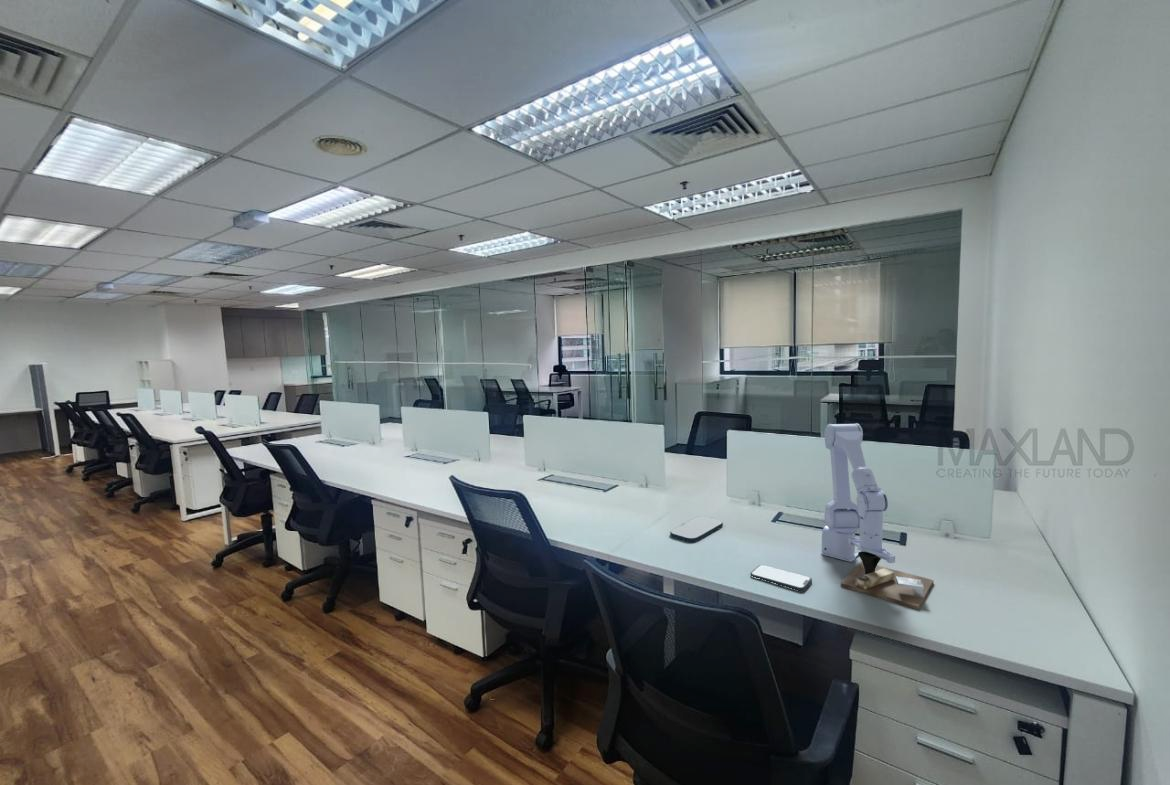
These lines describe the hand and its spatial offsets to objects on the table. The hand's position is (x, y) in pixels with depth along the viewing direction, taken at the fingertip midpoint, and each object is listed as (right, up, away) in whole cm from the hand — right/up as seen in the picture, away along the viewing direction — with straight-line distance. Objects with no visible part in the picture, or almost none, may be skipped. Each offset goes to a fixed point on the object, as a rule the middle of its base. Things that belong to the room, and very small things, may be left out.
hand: (869, 576), depth 143 cm
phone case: (-25, -3, +4) cm, 25 cm away
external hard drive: (-41, 0, +44) cm, 60 cm away
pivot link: (0, -1, -2) cm, 2 cm away
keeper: (+6, -1, -9) cm, 11 cm away
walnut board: (+4, -2, -2) cm, 5 cm away
